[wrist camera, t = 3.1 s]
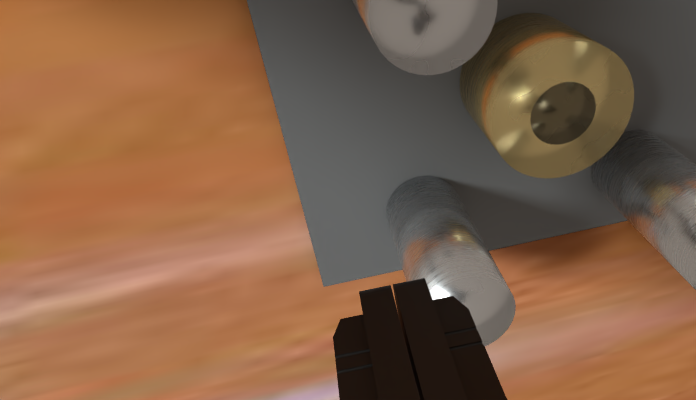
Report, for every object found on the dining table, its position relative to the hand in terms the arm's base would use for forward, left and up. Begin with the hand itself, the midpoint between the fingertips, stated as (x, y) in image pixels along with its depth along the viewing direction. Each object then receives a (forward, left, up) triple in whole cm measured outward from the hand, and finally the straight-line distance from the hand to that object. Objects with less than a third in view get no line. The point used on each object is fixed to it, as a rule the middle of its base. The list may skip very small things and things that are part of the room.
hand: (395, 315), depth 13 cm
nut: (0, +7, -11) cm, 13 cm away
